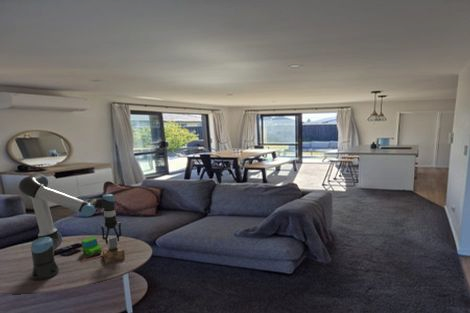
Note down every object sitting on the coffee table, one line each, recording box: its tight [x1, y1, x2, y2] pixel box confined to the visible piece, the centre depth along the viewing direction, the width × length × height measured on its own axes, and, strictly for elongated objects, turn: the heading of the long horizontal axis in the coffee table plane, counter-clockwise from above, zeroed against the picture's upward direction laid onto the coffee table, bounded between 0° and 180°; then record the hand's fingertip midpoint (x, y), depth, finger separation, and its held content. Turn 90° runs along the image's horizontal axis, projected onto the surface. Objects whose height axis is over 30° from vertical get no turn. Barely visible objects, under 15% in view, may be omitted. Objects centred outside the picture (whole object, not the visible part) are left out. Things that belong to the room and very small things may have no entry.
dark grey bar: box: [108, 235, 117, 251], centre depth 213 cm, size 4×4×15 cm
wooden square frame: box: [102, 243, 125, 264], centre depth 213 cm, size 13×13×6 cm
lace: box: [80, 254, 103, 263], centre depth 213 cm, size 17×4×1 cm, turn 130°
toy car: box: [81, 237, 103, 257], centre depth 220 cm, size 10×13×10 cm
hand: (112, 246), depth 213 cm, fingers open, 5 cm apart
